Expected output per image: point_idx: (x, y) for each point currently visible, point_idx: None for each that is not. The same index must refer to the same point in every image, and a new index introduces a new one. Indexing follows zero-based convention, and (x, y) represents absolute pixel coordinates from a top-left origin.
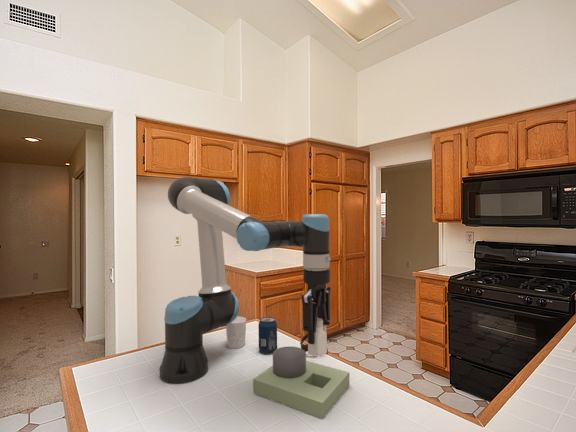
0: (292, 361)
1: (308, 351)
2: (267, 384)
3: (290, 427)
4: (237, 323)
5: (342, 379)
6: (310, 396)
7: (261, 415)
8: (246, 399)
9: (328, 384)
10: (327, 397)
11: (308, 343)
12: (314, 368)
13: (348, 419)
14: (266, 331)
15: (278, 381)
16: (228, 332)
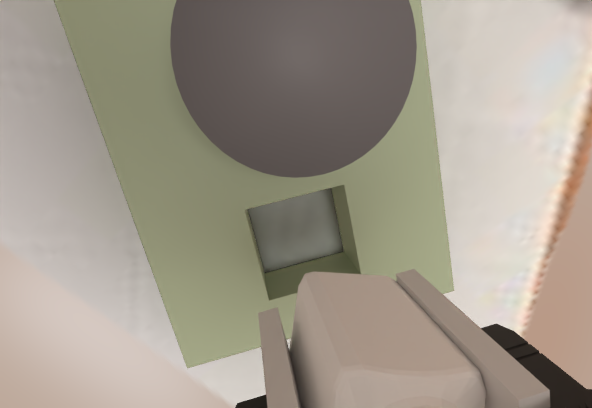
0: (233, 157)
1: (260, 326)
2: (88, 93)
3: (73, 294)
4: None
5: None
6: (183, 311)
7: (18, 171)
8: (23, 23)
9: None
10: (232, 354)
11: (238, 403)
12: (385, 158)
13: (257, 378)
14: None
15: (153, 117)
16: None
